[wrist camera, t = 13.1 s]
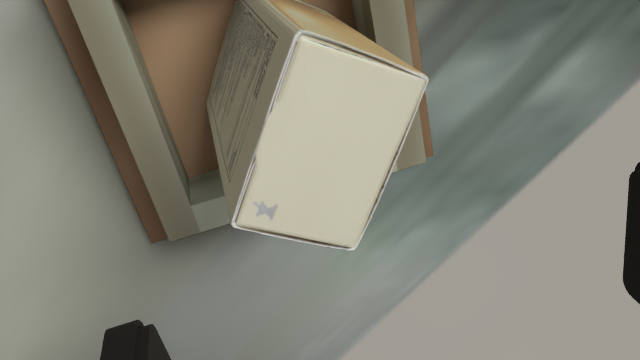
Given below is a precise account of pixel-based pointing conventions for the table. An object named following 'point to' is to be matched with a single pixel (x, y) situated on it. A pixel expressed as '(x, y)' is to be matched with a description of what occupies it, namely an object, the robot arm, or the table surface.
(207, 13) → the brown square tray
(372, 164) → the skincare box
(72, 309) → the table surface
